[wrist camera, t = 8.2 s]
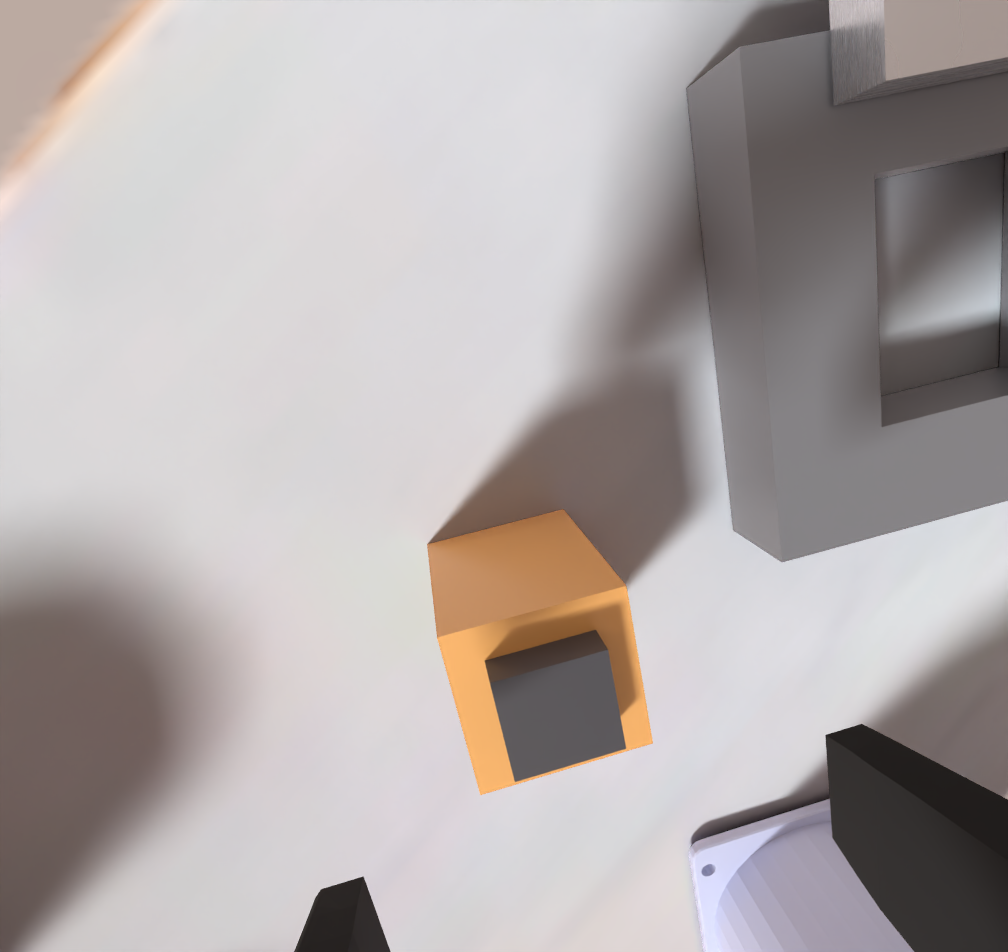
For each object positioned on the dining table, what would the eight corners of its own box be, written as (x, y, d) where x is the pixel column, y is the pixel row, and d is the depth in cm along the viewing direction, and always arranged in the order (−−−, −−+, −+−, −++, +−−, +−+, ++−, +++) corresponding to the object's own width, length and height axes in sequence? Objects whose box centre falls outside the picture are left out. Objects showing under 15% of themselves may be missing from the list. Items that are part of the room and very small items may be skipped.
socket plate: (1079, 438, 20) (1172, 455, 17) (733, 530, 19) (782, 562, 16) (1108, 8, 16) (1229, -44, 14) (686, 88, 15) (739, 46, 13)
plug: (586, 629, 19) (667, 768, 13) (459, 664, 18) (485, 824, 13) (563, 508, 18) (640, 603, 12) (427, 543, 17) (439, 658, 11)
